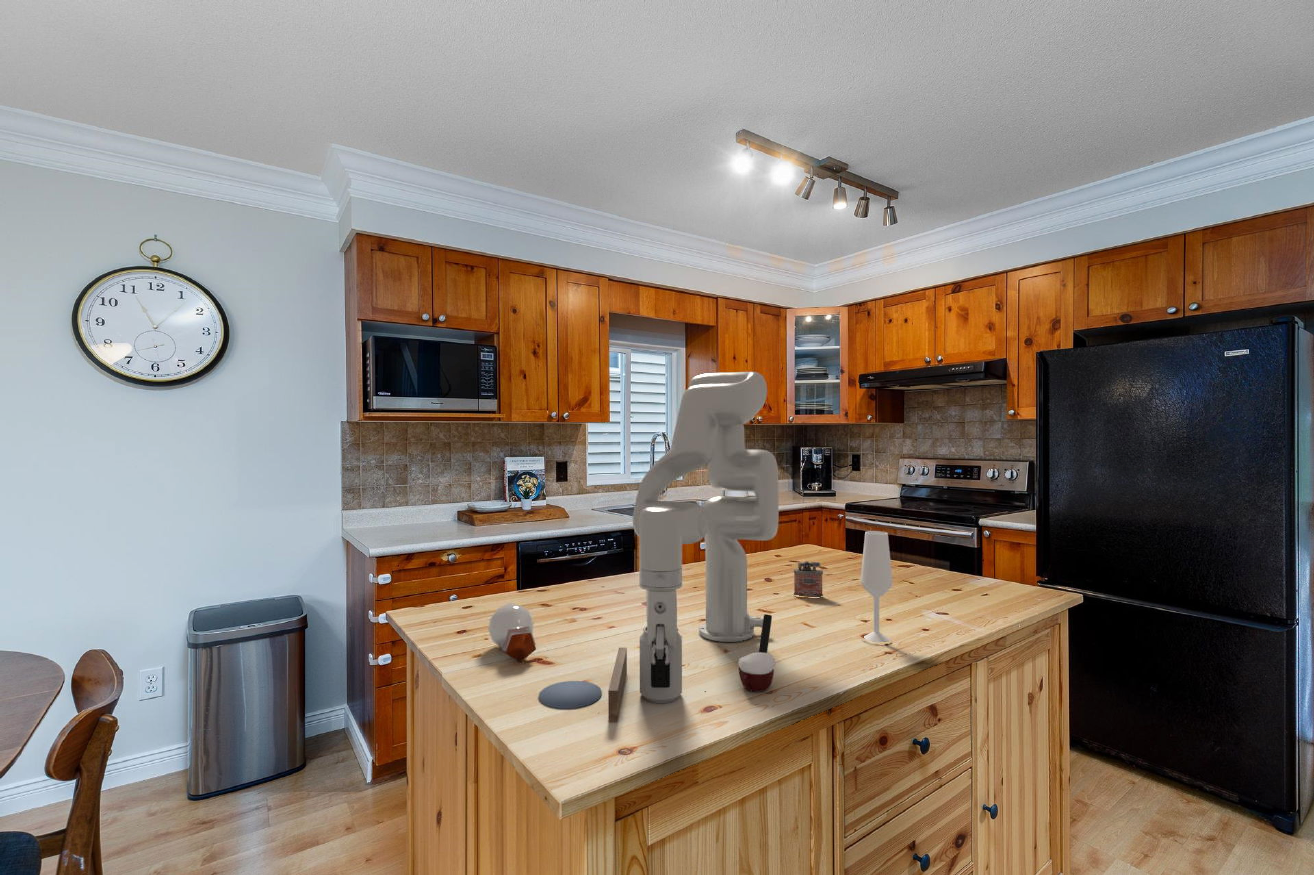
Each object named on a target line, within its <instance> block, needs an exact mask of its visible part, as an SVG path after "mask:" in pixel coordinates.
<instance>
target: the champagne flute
mask: <svg viewBox="0 0 1314 875" xmlns="http://www.w3.org/2000/svg"><path fill="white" fill-rule="evenodd" d="M863 542H864V543H863V552H862V562H861V572H860V573H861V574H860V584H861V585H862V587H863V588H864V590H865V591H866V592H867V593H868V594H869V595H870V596H872V597H873V631H872V632H869V633H868V634H866V635H864V638H865V639H866V640H870V641H872V642H889V640H891V639H890V638H889V637H887V636H886V635H884V633H881V631H880V598H881V597H883V596H884V595H885V594H886V593H887V592H889V590H890V589H891V588H892V586H893V584H894V583H893V574H892V564H891V563H892V562H891V553H890V552H891V551H890V543H889V542H890V541H889V533H888V532H886V531H880V530H876V531H875V530H869V531H865V533H864V541H863Z"/></svg>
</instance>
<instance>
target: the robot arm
mask: <svg viewBox="0 0 1314 875" xmlns="http://www.w3.org/2000/svg"><path fill="white" fill-rule="evenodd" d="M689 381H690V382H689V384H688V388H687V389H686V390H685V391H684V393H683V394H682V397H681V400H680V405H679V410H678V414H677V417H676V418H677V419H676V423H675V427H674V431H673V436H672V440H671V444H670V445H671V447H670V449H669V450H668V451H667V452H666V453H665V454H664V455H663V456H661V458H659V459H658V460H657V461H656V462H655V463H654V464H653V465H652V466H651V468H650V469H649V470H648V471H647V472H646V474H645V475H644V476H643V478H642V480H641V482H640V483H639V487H638V491H637V495H636V497H635V503H634V508H633V514H632V526H633V527H632V528H633V530H634V533H635V535H637V537H639V544H638V545H639V547H638V548H639V553H638V554H639V555H638V556H639V559H638V562H639V568H638V569H639V570H638V571H639V574H638V576H639V577H638V578H639V581H638V582H639V585H638V586H639V588H641V589H643V590H645V591H646V592H645V593H646V595H645V597H646V598H645V600H646V601H645V602H646V604H645V605H646V610H645V611H646V612H645V613H646V626H647V632H648V644H649V647H651V648H652V663H651V687H653V688H669V687H670V663H668V649H669V647H673V648H675V647H676V646H677V628H678V597H677V590H679V589H681V588H682V587H683V545H688V544H689V545H691V544H696V543H698V542H700V541H701V540H702V539H704V546H705V548H704V549H705V622H704V623H702V624H700V626H699V627H698V633H699V635H700V636H701V637H702V638H704V639H707V640H710V641H715V642H721V643H722V642H723V643H737V642H743V640H744V641H748V640H750V639H752V638H753V637H754V635H755V628H762V624H763V618H762V617H761V616H751V615H749V612H748V558H747V554H746V552H745V549H744V548H743V547H742V545H741V543H740V542H739V541H738V540H747V541H748V540H749V541H760V542H761V541H770V540H773V539H774V538H775V536H776V535H777V532H778V528H779V515H780V514H779V467H778V463H777V460H776V457H775V455H774V454H773V453H772V452H770V451H769V450H766V449H746V446H745V427H744V425H745V424H747V423H749V422H750V421H752V420H753V418H755V416H756V415H757V414H758V413H759V412H760V411H761V409H762V408H763V407H764V405H765V404H766V400H767V397H768V387H767V386H768V385H767V382H766V380H765V378H764V376H763V375H762V374H761V373H759V372H756V371H736V372H735V371H734V372H732V371H731V372H712V373H711V372H709V373H703V374H699V375H696V376H694V377H692V379H691V380H689ZM706 466H707V477H708V482H709V484H710V486H711V487H712V488H713V489H715V490H720V491H729V492H732V491H733V492H750V493H751V492H753V493H754V495H755V497H745V496H744V497H743V496H727V495H726V496H725V495H723V496H722V495H721V496H719V495H718V496H714V497H711V498H709V499H707V500H706V501H705V502H704V503H703V506H702V505H700V504H699V503H695V502H683V501H667V500H659V498H660V496H661V494H662V492H663V491H664V490H665V489H666V487H668V485H670V484H671V483H672V482H675V480H677V479H679V478H681V477H683V476H686V475H688V474H690V473H692V472H694V471H697V470H699V469H702V468H704V467H706ZM656 625H657V627H656ZM752 636H753V637H752ZM749 638H750V639H749ZM747 639H748V640H747ZM655 641H656V645H655ZM664 641H666V645H664ZM668 644H669V646H668ZM655 650H656V652H655ZM664 650H665V652H664Z"/></svg>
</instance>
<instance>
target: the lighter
mask: <svg viewBox="0 0 1314 875" xmlns="http://www.w3.org/2000/svg"><path fill="white" fill-rule="evenodd" d="M797 566H798V568H794V569H793V574H794V575H793V576H794V578H793V579H794V580H793V581H794V584H793V588H794V592H793V596H794V595H799V596H810V597H821V596H823V597H824V594H823V574H824V570H822V569H817V568H821V562H820V561H811V562H810V561H809V560H805V561H804V562H803V561H797Z"/></svg>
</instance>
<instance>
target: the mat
mask: <svg viewBox="0 0 1314 875" xmlns="http://www.w3.org/2000/svg"><path fill="white" fill-rule="evenodd" d="M602 692H603V691H602V688H600V686H598V685H597V684H595V683H593V682H588V681H582V680H566V681H560V682H556V683H552V684H549V685H548V686H546V687H544V688H542V689H541V691H539V694H538V700H539V701H541V702H542V703H541V704H543V705H544V706H546V705H547V707H549V708H553V707H554V709H564V710H566V709H567V710H570V709H578V708H583V707H587V706H590V705H592V704H594V703H596V702H598V701H599V700H600V698H601V697H602V695H603V693H602Z"/></svg>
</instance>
